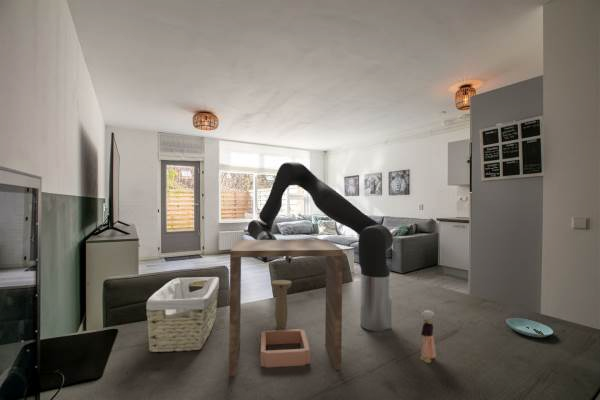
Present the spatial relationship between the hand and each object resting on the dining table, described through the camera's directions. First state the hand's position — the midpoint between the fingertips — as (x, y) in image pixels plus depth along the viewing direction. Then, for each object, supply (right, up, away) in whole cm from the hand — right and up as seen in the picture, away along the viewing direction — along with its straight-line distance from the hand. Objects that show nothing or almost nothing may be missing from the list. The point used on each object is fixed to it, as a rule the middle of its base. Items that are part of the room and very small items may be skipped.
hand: (278, 260), depth 100 cm
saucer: (+81, -22, -8) cm, 84 cm away
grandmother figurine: (+42, -21, -23) cm, 52 cm away
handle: (+2, -21, -7) cm, 22 cm away
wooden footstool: (+3, -21, -22) cm, 30 cm away
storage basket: (-27, -21, -11) cm, 36 cm away
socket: (+3, -21, -22) cm, 30 cm away
